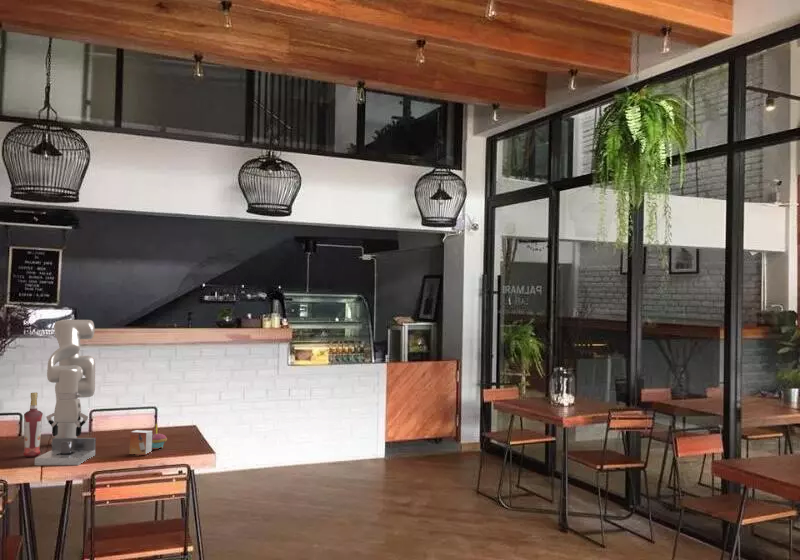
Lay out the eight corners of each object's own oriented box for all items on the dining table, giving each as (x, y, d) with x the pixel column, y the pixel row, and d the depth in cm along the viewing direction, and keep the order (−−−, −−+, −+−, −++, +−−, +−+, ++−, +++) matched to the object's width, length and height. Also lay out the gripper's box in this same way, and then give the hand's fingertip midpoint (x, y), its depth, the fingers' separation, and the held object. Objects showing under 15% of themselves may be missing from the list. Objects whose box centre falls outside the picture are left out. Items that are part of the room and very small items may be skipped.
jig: (53, 455, 299) (54, 437, 300) (95, 455, 301) (95, 437, 301) (34, 465, 281) (35, 446, 282) (78, 465, 283) (79, 446, 283)
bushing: (62, 459, 293) (63, 440, 293) (73, 459, 293) (73, 440, 294) (58, 461, 289) (58, 442, 289) (68, 461, 289) (69, 442, 289)
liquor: (41, 457, 296) (43, 393, 297) (22, 458, 293) (24, 394, 294) (40, 453, 303) (43, 391, 304) (22, 455, 299) (24, 392, 300)
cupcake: (144, 448, 317) (145, 422, 318) (161, 446, 323) (162, 421, 324) (152, 451, 311) (153, 425, 312) (169, 449, 317) (170, 423, 318)
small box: (129, 455, 303) (129, 431, 303) (135, 452, 308) (136, 429, 309) (145, 456, 302) (146, 432, 302) (151, 453, 307) (152, 430, 308)
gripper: (91, 395, 297) (90, 434, 296) (51, 394, 295) (50, 433, 295) (85, 398, 289) (83, 437, 289) (43, 397, 288) (42, 437, 288)
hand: (66, 435), depth 292 cm, fingers open, 9 cm apart
